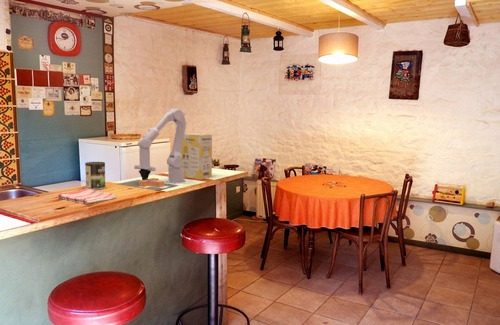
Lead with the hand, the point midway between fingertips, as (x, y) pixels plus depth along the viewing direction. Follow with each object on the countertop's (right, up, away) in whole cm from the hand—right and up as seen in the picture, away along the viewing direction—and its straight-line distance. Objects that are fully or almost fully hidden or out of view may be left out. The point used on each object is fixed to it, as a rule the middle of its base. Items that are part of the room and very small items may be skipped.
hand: (144, 182), depth 240 cm
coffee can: (-24, -3, -11) cm, 27 cm away
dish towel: (-19, -7, -36) cm, 41 cm away
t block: (+6, -2, -3) cm, 7 cm away
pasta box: (+25, +2, +32) cm, 41 cm away
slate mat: (+1, -2, -1) cm, 2 cm away
